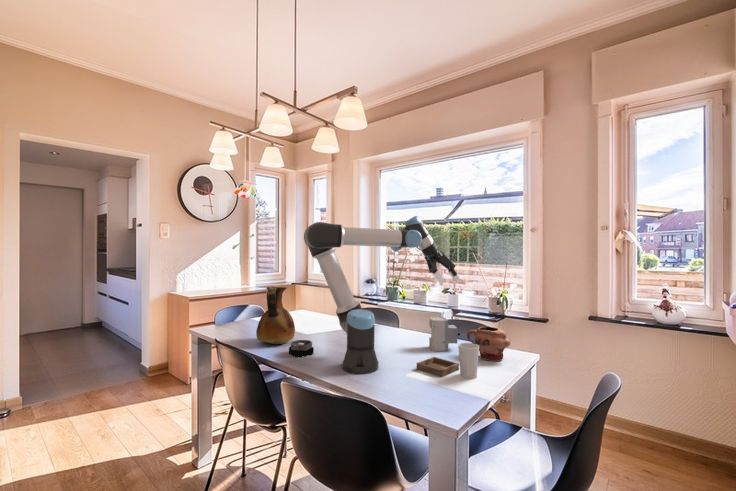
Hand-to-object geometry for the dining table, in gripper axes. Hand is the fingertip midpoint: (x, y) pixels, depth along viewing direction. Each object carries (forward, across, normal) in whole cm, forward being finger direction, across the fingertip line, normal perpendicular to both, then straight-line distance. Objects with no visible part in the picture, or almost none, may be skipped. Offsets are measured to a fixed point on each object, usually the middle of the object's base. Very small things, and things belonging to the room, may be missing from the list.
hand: (450, 282), depth 169 cm
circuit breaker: (+28, +11, +17) cm, 35 cm away
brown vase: (-18, +48, +81) cm, 96 cm away
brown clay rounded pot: (+36, -8, +9) cm, 38 cm away
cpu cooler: (-10, +24, +75) cm, 80 cm away
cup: (+26, -25, +29) cm, 47 cm away
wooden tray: (+21, -15, +35) cm, 43 cm away
